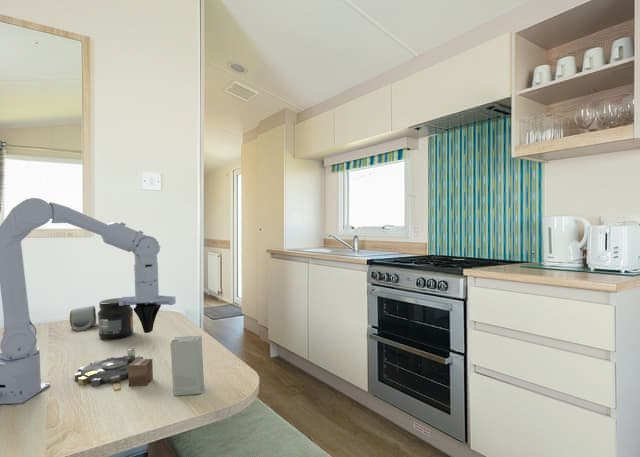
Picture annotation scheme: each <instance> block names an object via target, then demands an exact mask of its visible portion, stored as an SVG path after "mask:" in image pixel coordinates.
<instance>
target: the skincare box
mask: <svg viewBox="0 0 640 457" xmlns="http://www.w3.org/2000/svg"><path fill="white" fill-rule="evenodd" d="M202 338H203V337H202V335H191V336H189V335H187V336H175V337H174V338H173V339H172V341H170V358H171V374H172V391H173V396H176V397H177V396H187V395H188V396H191V395H201V394H202V392H203V390H204V388H205V377H204V376H205V375H204V358H203V339H202Z"/></svg>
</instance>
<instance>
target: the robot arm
mask: <svg viewBox="0 0 640 457" xmlns="http://www.w3.org/2000/svg"><path fill="white" fill-rule="evenodd" d="M50 220H51V224H69V225H71V226H74V227H76V228H79V229H82V230H85V231H87V232H91V233H93V234H96V235H99V236H101V239H102V242H103V243H105V244H108V245H109V246H113V247H115V248H117V249H120V250H123V251H124V252H125V251H126V252H128V253H133V255H134V263H133V264H134V266H133V267H134V268H133V270H134V296H121V297H118V298H119V306H122V305H130V306H133V305H134V306H135V307H134V308H133V311H134V312H133V313H135V314H136V316H137V317H138V319H139V321H140V323H141V326H142V329H143V330H142V331H143V333H144V334H149V333H151V332H153V330H154V325H155V320H156V317H157V315H158V312H160V311H159V310H160V308H161V306H164V305H167V306H174V305H176V296H172V295H171V296H168V295H160V293H159V292H160V290H159V288H160V287H159V263H158V254H159V253H160V251H161V245H160V244H159V241H158V240H157V239H156V238H155V237H154V236H150V235H146V234H144V231H142V230H138V231H137V230H135V229H133V228H131V227H128V226H126V223H125V222H122V221H120V222H116V221H113V222H110V223H105V222H102V221H100V220H98V219H96V218H93V217H91V216H89V215H87V214H84V213H82V212H80V211H78V210H75V209H74V208H70V207H68V206H66V205H61V204H58V203H55V202H50V201H49V203H48V202H47V201H46V200H44V199H42V198H40V197H39V198H38V197H30V198H26V199H24V200H23V201H21V202H20V203H18V204H17V205H15V206H14V207H12V208H11V210H10V211H9V212H8V214H7V216H6V217H5V219H4V220H3V222H2V223H1V224H0V296H1V303H2V314H3V329H4V330H3V332H2V338H1V340H0V351H1V353H0V405H5V404H6V405H7V404H8V405H9V404H23V403H24V402H27V401H28V400H30V399H31V398H32V397H34V396H35V395H37V394H38V393H39V392H40V393H41V392H42V391H43V390H45V389H46V388H48V387H49V386H50V385H51V383H50V382H45V383H44V382H41V381H42V379H41V377H42V376H41V356H40V354H41V353H40V352H41V351H40V347H38V346H36V345H37V343H38V342H37V341H38V340H37V339H38V338H37V331H38V330H37V328H36V326H35V325H34V324H33V322H32V320H31V315H30V310H29V309H30V308H29V301H28V293H27V284H26V274H25V265H24V257H23V249H22V247H23V246H22V241H23V240H24V239H25V238H26V237H28V235H29V234H31V233H32V231H34V230H35V229H38V228H40V227H42V226H44V225H45V224H47V223H48V222H49V221H50Z"/></svg>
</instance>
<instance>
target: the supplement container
mask: <svg viewBox="0 0 640 457" xmlns="http://www.w3.org/2000/svg"><path fill="white" fill-rule="evenodd" d="M119 298H120V297H115V298H108V299H103V300H101V301H99V306H98V307H99V309H100V310H98V312H97V316H98V337H99V338H100V339H102V340H106V341H107V340H109V341H113V340H114V341H115V340H120V339H124V338H127V337H130V336H131V335H133V333H134V312H133V311H134V308H133V307H132V305H122V306H119Z"/></svg>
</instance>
